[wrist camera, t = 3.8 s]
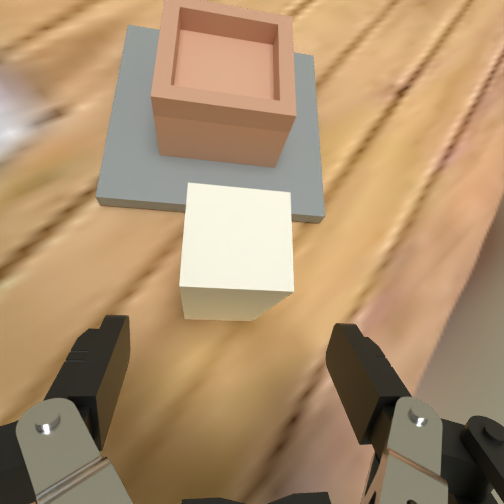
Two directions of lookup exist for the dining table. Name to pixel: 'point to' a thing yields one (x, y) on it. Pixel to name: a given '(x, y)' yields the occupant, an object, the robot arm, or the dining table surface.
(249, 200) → the tall brick
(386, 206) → the dining table surface
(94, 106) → the dining table surface
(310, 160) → the tower base
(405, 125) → the dining table surface
